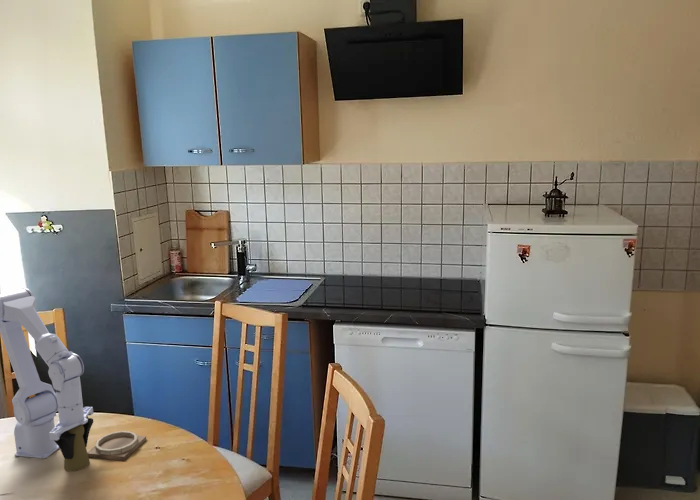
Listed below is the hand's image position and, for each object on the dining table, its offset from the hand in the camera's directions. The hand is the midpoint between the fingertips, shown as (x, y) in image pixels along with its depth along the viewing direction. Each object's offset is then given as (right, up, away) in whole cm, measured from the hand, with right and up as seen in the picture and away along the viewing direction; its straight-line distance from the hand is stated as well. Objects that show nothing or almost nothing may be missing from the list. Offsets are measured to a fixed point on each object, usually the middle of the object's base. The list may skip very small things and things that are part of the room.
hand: (75, 452), depth 152 cm
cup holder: (+7, -2, +9) cm, 11 cm away
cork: (0, -4, +1) cm, 4 cm away
